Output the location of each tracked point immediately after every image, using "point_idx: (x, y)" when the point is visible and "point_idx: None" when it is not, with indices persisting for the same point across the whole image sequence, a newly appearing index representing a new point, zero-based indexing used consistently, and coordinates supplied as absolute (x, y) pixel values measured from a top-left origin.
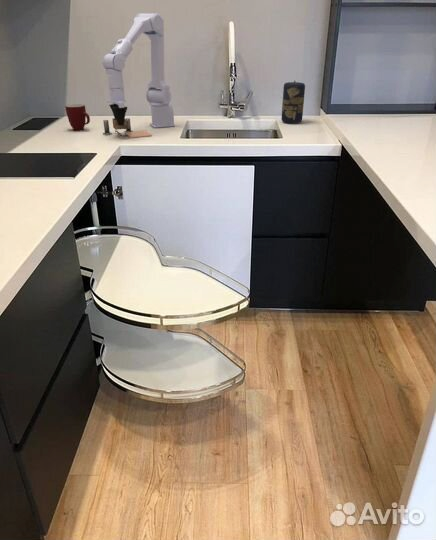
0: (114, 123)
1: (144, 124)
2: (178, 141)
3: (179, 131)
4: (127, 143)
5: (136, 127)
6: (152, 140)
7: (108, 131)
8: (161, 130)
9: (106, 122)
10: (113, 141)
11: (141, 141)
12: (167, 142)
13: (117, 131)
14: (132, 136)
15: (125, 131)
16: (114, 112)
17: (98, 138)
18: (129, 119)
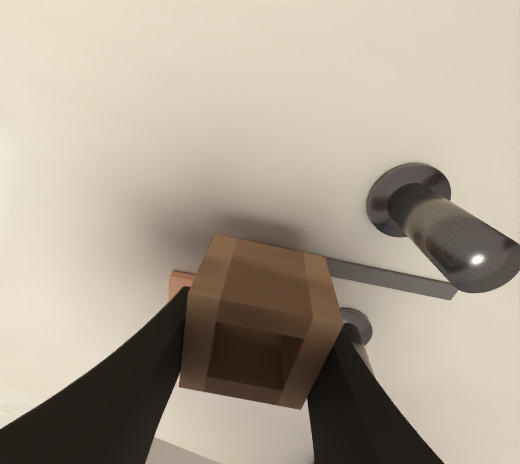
0: (225, 272)
1: (451, 441)
2: (20, 391)
3: (206, 456)
4: (22, 197)
5: (424, 398)
6: (70, 333)
7: (393, 214)
8: (268, 431)
9: (440, 249)
10: (119, 134)
11: (61, 285)
12: (8, 359)
13: (407, 287)
14: (174, 292)
15: (353, 319)
16: (356, 436)
17: (303, 54)
18: None
